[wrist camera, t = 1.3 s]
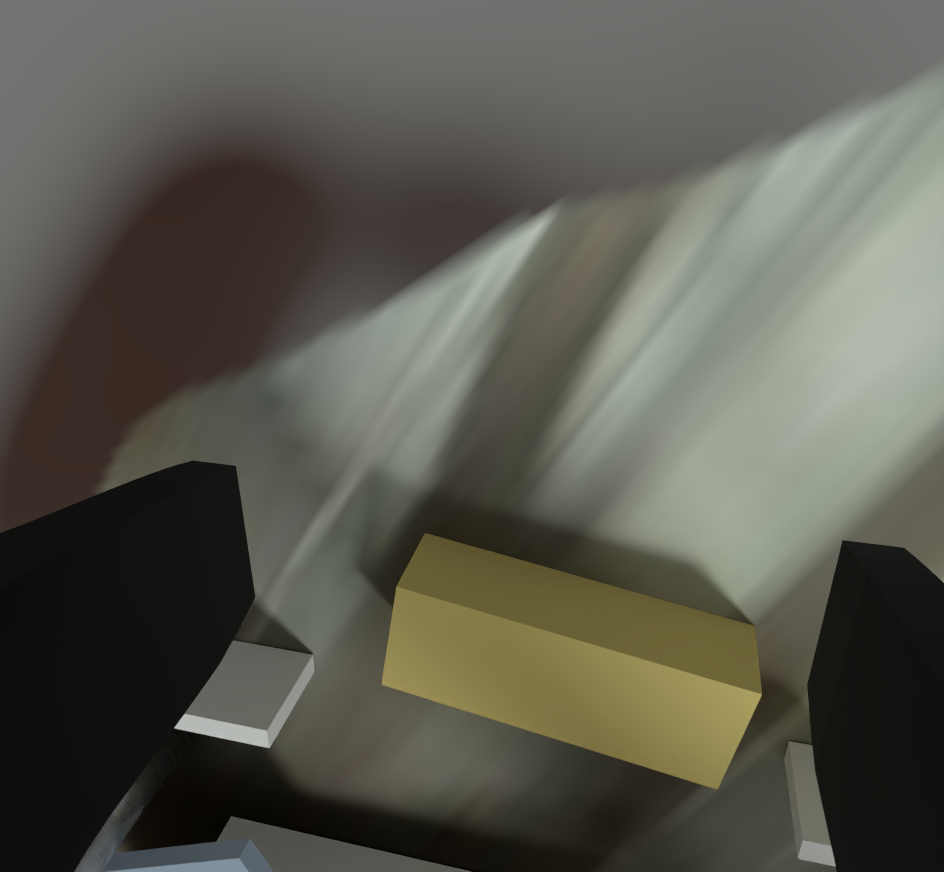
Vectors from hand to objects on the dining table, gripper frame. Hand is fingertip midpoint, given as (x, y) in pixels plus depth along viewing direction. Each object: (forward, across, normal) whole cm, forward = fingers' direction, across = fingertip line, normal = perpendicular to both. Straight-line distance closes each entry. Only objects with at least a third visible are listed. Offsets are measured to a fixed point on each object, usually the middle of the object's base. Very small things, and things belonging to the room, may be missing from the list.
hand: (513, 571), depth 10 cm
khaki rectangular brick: (+8, 0, +7) cm, 11 cm away
